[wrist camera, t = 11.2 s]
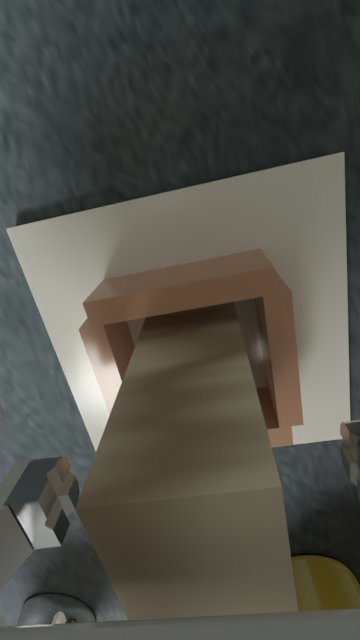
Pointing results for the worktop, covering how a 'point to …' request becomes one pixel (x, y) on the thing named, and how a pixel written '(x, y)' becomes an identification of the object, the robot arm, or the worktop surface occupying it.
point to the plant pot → (324, 584)
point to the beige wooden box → (189, 478)
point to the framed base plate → (207, 287)
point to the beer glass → (54, 610)
